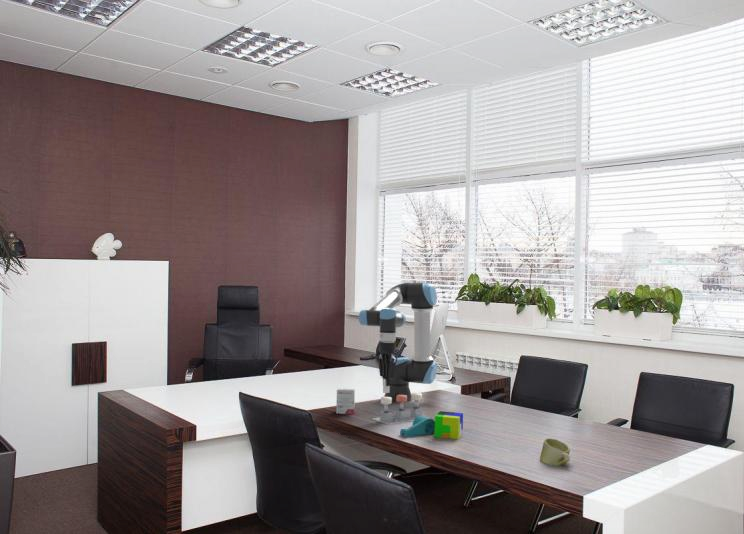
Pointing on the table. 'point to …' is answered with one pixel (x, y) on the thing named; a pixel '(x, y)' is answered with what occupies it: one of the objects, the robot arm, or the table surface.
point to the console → (399, 416)
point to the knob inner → (416, 398)
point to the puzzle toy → (449, 425)
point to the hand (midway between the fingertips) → (386, 392)
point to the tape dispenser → (419, 427)
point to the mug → (554, 452)
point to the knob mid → (401, 400)
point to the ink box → (345, 401)
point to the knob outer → (386, 402)
